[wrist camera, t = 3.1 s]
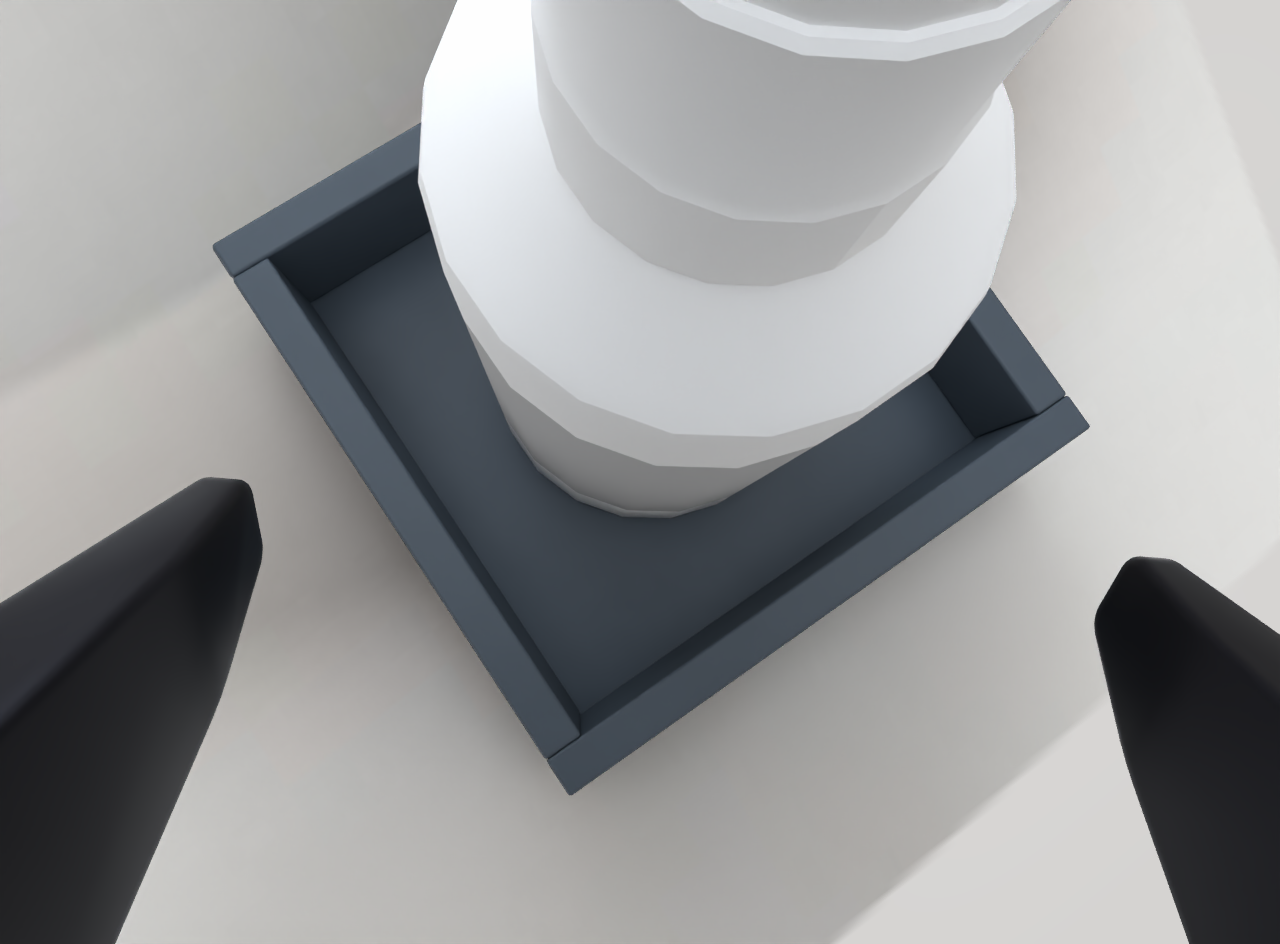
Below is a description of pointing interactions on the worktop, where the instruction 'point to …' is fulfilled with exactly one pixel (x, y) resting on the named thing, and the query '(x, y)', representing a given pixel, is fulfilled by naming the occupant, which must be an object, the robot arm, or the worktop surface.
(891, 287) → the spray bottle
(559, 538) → the bin
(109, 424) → the worktop surface
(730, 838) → the worktop surface
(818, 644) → the worktop surface
